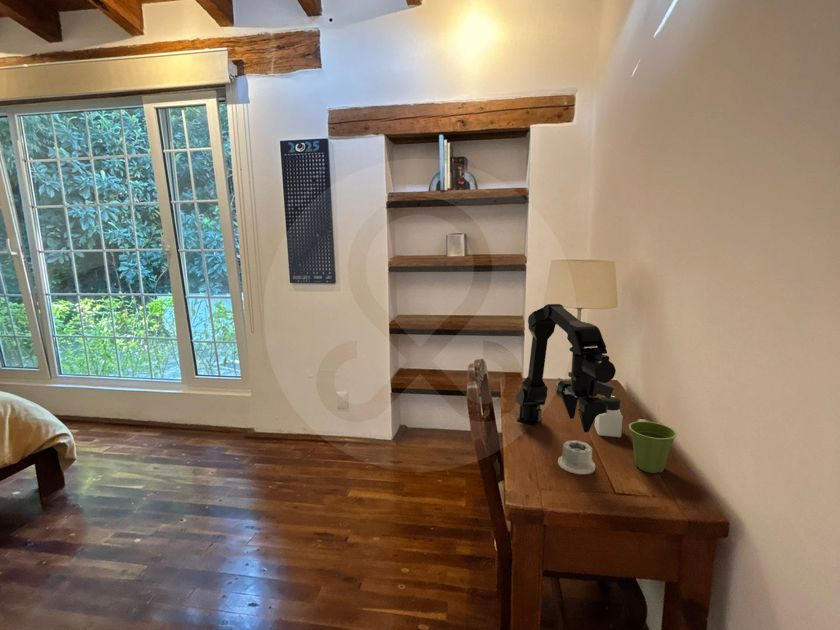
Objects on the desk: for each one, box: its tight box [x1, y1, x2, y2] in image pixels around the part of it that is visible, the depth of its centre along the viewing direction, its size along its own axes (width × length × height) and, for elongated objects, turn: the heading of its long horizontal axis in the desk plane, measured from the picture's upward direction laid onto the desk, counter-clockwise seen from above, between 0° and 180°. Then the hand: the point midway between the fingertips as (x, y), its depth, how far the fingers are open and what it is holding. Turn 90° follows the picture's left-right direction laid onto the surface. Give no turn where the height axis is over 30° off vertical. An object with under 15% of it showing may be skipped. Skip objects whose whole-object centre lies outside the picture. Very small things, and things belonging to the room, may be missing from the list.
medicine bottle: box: [594, 395, 624, 438], centre depth 146 cm, size 7×7×12 cm
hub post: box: [557, 448, 596, 475], centre depth 126 cm, size 10×10×5 cm
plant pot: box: [628, 420, 678, 474], centre depth 124 cm, size 12×12×11 cm
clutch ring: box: [561, 440, 593, 470], centre depth 125 cm, size 7×7×5 cm
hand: (578, 425), depth 124 cm, fingers open, 9 cm apart
